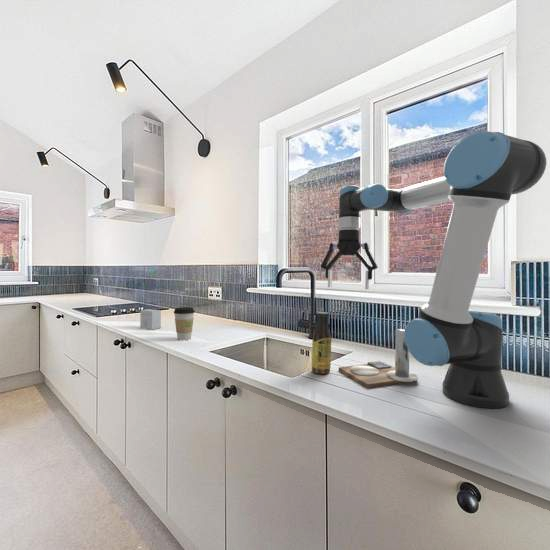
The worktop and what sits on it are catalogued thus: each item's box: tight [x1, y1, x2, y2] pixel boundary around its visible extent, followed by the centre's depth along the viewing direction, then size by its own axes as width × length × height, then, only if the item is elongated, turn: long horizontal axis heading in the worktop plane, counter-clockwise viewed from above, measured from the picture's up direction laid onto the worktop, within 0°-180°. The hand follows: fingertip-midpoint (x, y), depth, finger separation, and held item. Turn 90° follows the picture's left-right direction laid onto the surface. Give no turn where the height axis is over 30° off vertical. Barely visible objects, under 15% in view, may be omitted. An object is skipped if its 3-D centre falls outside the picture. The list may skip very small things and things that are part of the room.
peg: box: [394, 328, 410, 378], centre depth 95 cm, size 4×4×14 cm
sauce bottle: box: [311, 311, 332, 375], centre depth 103 cm, size 6×6×20 cm
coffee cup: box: [173, 306, 196, 341], centre depth 150 cm, size 10×10×15 cm
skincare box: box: [139, 308, 162, 330], centre depth 178 cm, size 10×6×10 cm, turn 60°
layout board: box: [338, 360, 419, 389], centre depth 98 cm, size 18×18×2 cm
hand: (347, 288), depth 113 cm, fingers open, 13 cm apart
